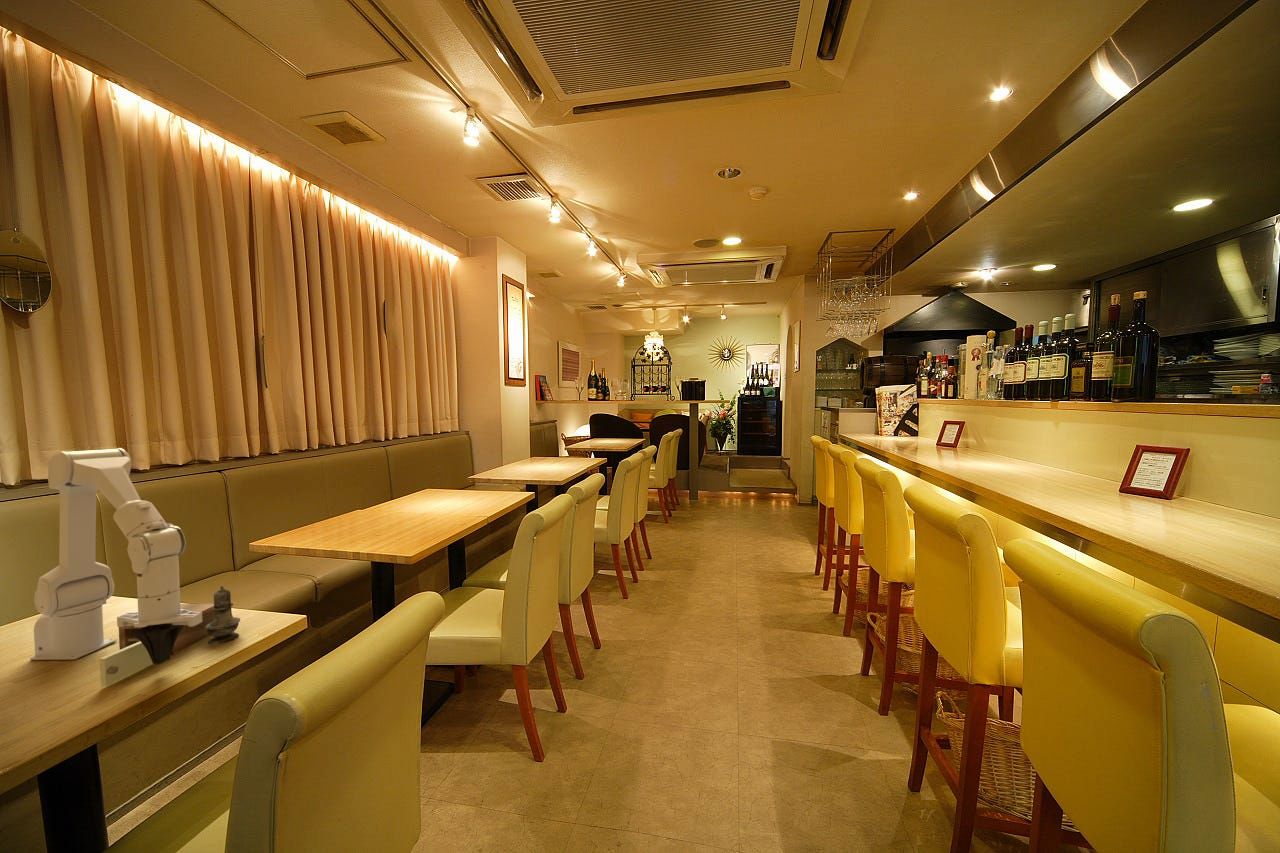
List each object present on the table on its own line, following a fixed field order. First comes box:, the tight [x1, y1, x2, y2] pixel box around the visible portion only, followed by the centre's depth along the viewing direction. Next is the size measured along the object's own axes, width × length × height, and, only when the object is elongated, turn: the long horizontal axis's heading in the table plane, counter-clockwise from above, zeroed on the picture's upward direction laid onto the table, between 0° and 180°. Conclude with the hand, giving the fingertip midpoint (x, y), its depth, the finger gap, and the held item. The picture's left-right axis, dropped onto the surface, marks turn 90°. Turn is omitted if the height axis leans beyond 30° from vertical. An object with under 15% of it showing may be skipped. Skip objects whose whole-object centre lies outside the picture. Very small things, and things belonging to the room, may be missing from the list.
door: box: [99, 641, 154, 688], centre depth 92 cm, size 11×2×6 cm, turn 175°
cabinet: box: [118, 603, 214, 656], centre depth 104 cm, size 11×11×6 cm
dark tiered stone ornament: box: [205, 585, 241, 646], centre depth 105 cm, size 6×6×12 cm
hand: (161, 661), depth 92 cm, fingers closed
